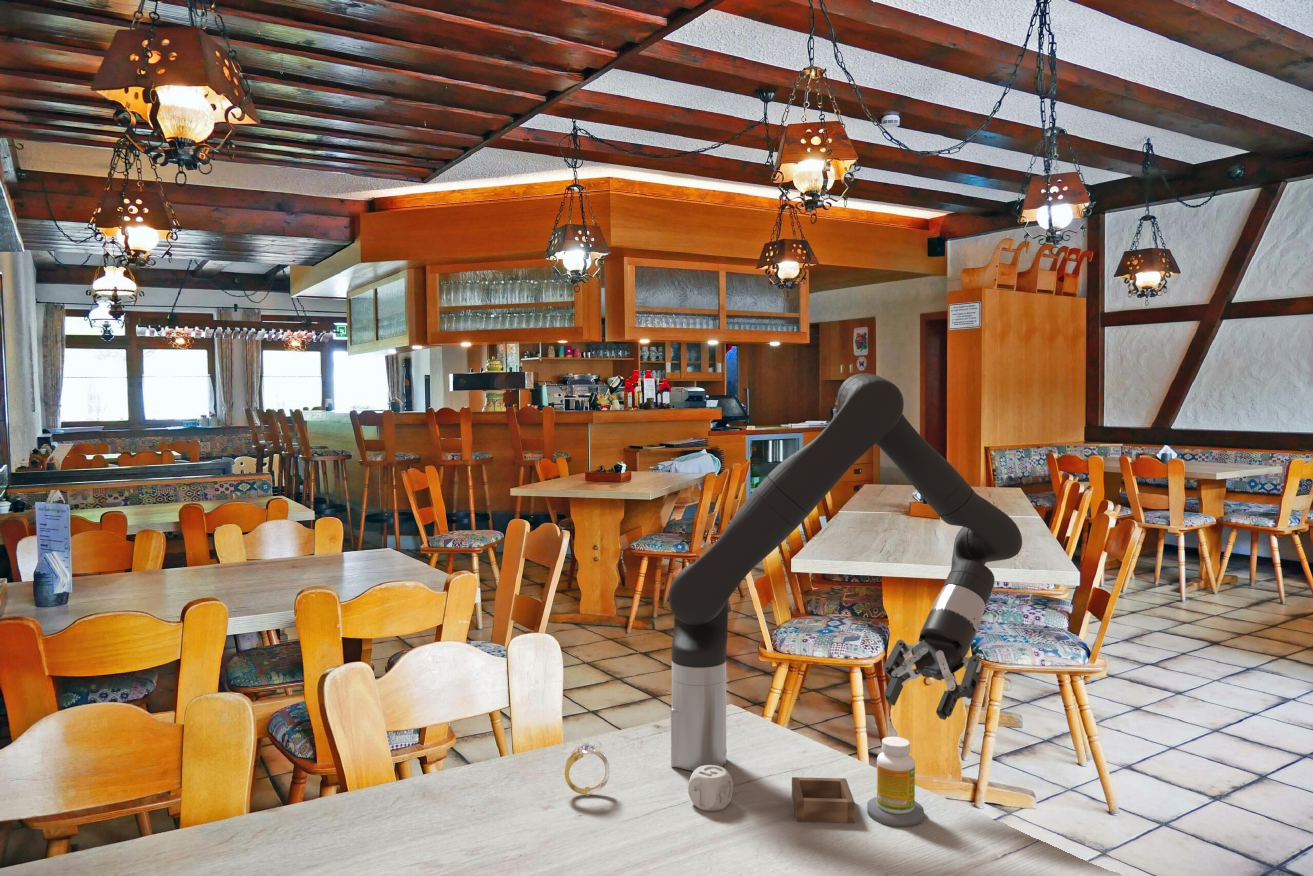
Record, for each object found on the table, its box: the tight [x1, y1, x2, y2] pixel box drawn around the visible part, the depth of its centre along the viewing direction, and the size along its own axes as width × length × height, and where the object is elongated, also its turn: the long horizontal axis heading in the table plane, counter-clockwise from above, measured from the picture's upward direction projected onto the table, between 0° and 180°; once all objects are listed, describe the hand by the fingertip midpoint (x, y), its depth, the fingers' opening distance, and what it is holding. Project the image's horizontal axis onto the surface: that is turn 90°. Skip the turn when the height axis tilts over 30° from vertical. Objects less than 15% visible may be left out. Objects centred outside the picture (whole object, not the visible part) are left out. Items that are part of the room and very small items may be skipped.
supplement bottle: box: [876, 736, 916, 814], centre depth 129 cm, size 5×5×10 cm
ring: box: [564, 741, 611, 797], centre depth 136 cm, size 7×3×8 cm, turn 93°
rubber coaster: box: [866, 796, 925, 828], centre depth 129 cm, size 8×8×1 cm
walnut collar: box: [791, 776, 856, 824], centre depth 131 cm, size 8×8×3 cm
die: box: [687, 765, 734, 812], centre depth 133 cm, size 5×5×5 cm
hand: (914, 709), depth 132 cm, fingers open, 8 cm apart
